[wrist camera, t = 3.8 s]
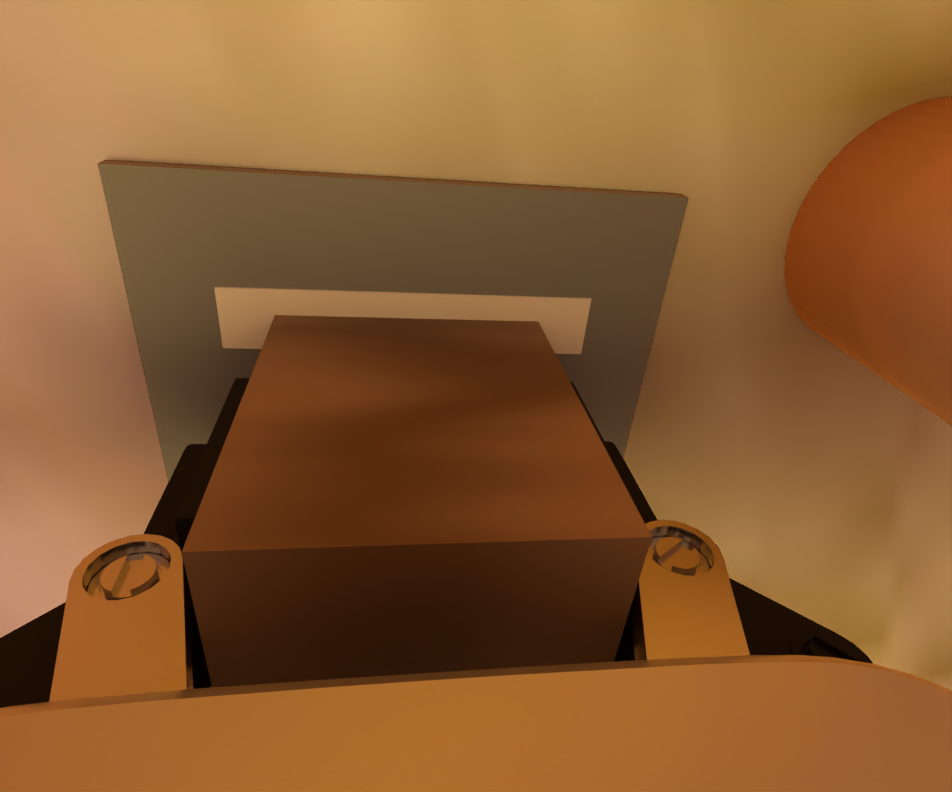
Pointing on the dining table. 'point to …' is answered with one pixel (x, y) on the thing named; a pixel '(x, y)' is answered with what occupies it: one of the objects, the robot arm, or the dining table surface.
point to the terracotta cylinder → (884, 252)
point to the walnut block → (410, 509)
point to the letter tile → (380, 272)
